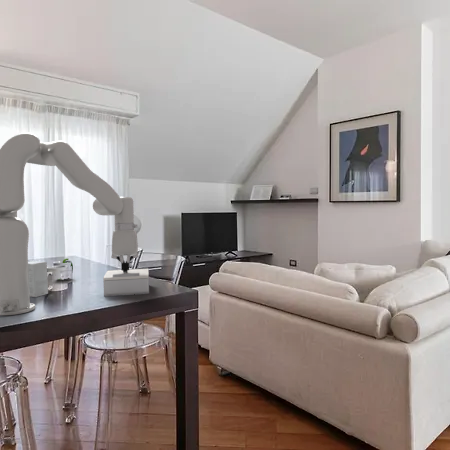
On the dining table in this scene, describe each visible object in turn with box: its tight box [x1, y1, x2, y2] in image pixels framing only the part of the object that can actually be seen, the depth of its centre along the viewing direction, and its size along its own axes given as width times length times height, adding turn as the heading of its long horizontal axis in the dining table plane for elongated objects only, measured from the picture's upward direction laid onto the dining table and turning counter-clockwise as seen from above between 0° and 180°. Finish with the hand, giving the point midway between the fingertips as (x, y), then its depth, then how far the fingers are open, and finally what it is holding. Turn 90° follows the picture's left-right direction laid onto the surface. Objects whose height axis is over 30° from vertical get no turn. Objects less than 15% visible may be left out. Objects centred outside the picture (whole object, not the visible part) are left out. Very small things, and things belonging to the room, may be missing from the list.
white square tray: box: [103, 278, 150, 297], centre depth 159 cm, size 17×17×6 cm
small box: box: [28, 260, 49, 298], centre depth 154 cm, size 8×6×13 cm
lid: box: [103, 267, 150, 281], centre depth 159 cm, size 18×17×2 cm
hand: (125, 272), depth 159 cm, fingers closed
